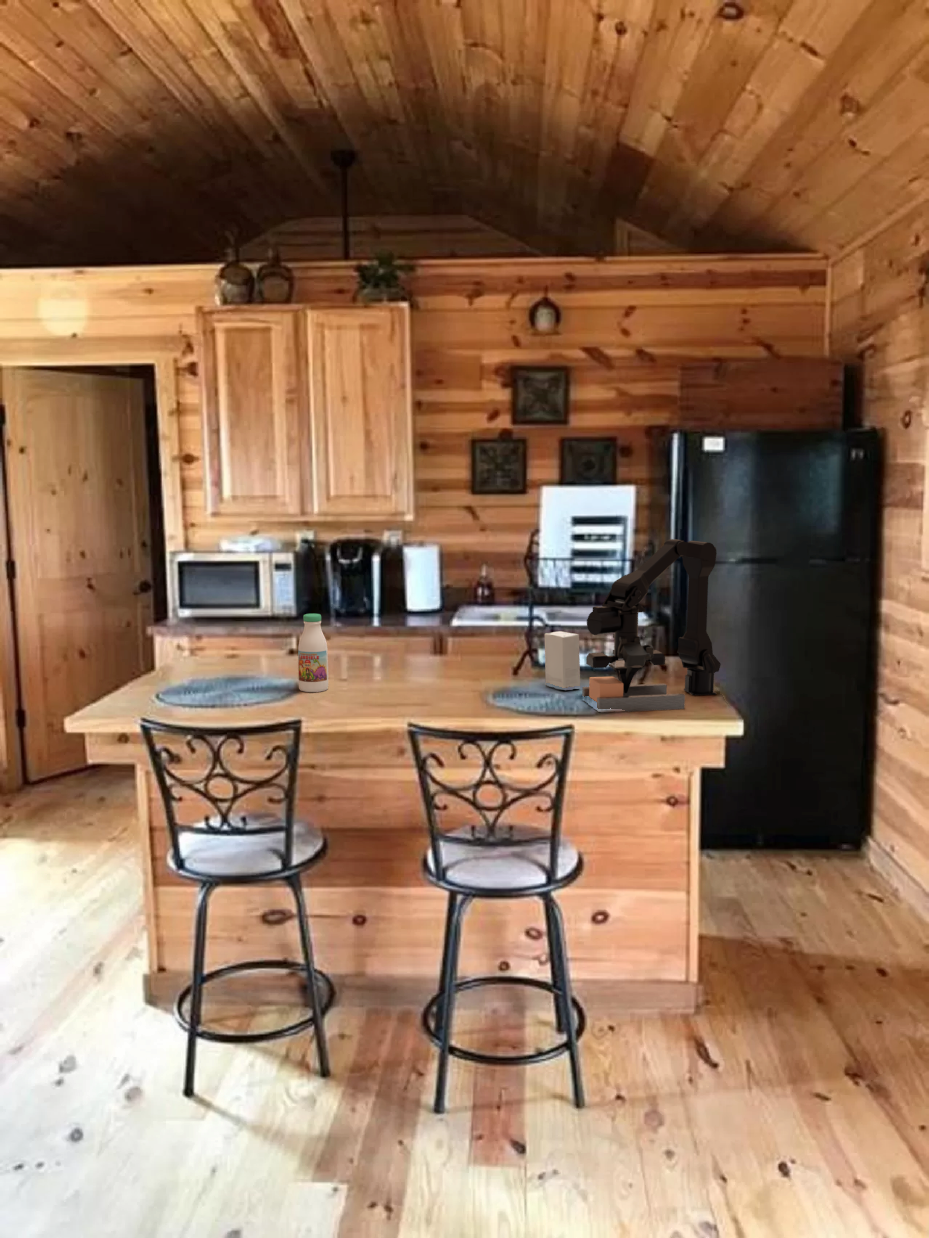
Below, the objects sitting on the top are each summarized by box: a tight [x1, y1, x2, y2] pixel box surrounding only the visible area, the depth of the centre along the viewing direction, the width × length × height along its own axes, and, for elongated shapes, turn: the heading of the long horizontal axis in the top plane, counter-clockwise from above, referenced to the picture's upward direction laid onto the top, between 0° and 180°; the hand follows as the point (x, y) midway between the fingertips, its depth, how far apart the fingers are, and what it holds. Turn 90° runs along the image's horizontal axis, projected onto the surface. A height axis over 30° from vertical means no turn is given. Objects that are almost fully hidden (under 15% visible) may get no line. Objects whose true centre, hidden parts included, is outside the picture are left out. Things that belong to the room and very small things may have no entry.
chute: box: [581, 683, 686, 713], centre depth 259 cm, size 22×13×4 cm, turn 102°
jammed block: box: [588, 676, 623, 702], centre depth 257 cm, size 6×8×5 cm
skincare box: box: [544, 630, 581, 688], centre depth 276 cm, size 8×6×15 cm
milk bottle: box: [297, 613, 329, 693], centre depth 272 cm, size 8×8×20 cm
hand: (625, 692), depth 258 cm, fingers closed
